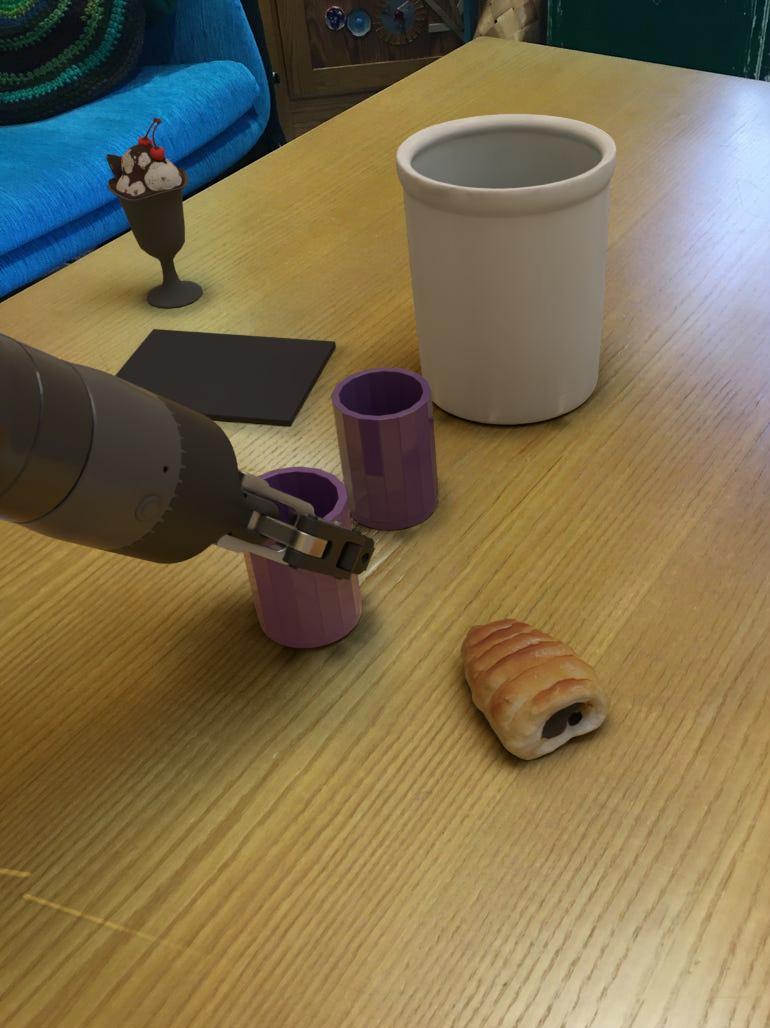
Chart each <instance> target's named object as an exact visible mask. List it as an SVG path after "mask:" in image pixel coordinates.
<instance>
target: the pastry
mask: <svg viewBox="0 0 770 1028" xmlns="http://www.w3.org/2000/svg"><path fill="white" fill-rule="evenodd" d="M460 656H461V658H462V662H463V666H464V677H465V680H466V682H467V683H468V686H469V688H470V692H471V699H472V702H473V704H474V706H475V707H476V708H477V709H478V710H479V711H480V712H481V713H483V716H484V718H485V719H486V720H487V722H488V724H489V726H490V728H491V729H492V730H493V732H494V733H495V735H496V737H497V738H498V740H499V741H500V743H501V744H502V746H503V747H504V749H505V750H507V752H509V753H510V754H512V755H514V756H516V757H517V758H519V759H522V760H525V761H531V760H536V759H537V758H540V757H542V756H544V755H547V754H549V753H552V752H554V751H555V750H556V749H557V748H558V749H559V748H560V747H561V746H563V745H565V744H566V743H567V742H568V741H569V740H570V739H572V738H574V737H579V736H582V735H585V734H588V733H590V732H592V731H595V730H596V729H598V728H599V727H601V725H602V724H603V722H604V721H605V720H606V719H607V717H608V714H609V710H610V708H611V707H610V706H611V697H610V696H609V694H607V693H606V690H605V688H604V685H603V684H602V683H601V681H600V680H599V678H598V676H597V673H596V671H595V669H594V667H593V666H592V665H591V664H589V663H587V662H586V661H585V660H584V659H582V658H581V656H580V655H579V654H578V653H577V652H576V651H575V650H574V649H573V648H572V647H571V646H569V644H567V643H565V642H563V641H562V640H561V639H557V638H554V637H552V636H551V635H550V634H548V633H546V632H542V630H540V629H539V628H537V627H535V626H532V625H530V624H529V623H526V622H521V621H518V620H517V619H514V618H504V619H499V620H495V621H490V622H489V623H486V624H476V625H473V626H471V627H470V628H469V629H468V631H467V633H466V637H465V638H464V640H463V641H462V643H461V647H460Z"/></svg>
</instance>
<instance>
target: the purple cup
mask: <svg viewBox="0 0 770 1028" xmlns="http://www.w3.org/2000/svg"><path fill="white" fill-rule="evenodd" d="M256 476H257V477H259V478H261V479H263V480H265V481H267V482H268V484H269V486H270V487H271V488H274V489H276V490H279V491H281V492H284V493H286V494H289V495H291V496H294V497H296V498H299V499H301V500H303V501H305V502H307V503H309V504H311V505H312V506H313V508H314V514H315V515H316V516H318V517H321V518H323V519H326V520H328V521H331V522H333V520H335V521H338V522H340V523H342V524H341V526H343V527H345V528H347V529H349V530H351V531H352V529H353V528H352V522H351V521H352V520H351V515H350V513H349V505H348V498H347V493H346V487H345V485H344V482H343V481H341V480H340V479H339V478H338V477H337V476H336V475H335V474H333V473H331V472H328V471H325V470H323V469H321V468H317V467H308V466H289V467H282V468H276V469H272V470H269V471H267V472H264V473H262V474H259V475H256ZM257 494H258V493H257ZM259 495H260V494H259ZM261 496H263V495H261ZM264 497H265V496H264ZM266 498H268V497H266ZM268 499H270V498H268ZM270 500H272V501H274V502H276V503H277V504H278V506H279V507H280V511H281V513H280V518H279V520H280V521H282V522H285V521H286V518H287V516H288V512H289V510H288V507H287V505H285V504H283V503H280V502H278V501H275V500H273V499H270ZM276 542H277V541H276V540H274V539H271V538H270V539H269V540H268V541H267V542H265V543H263V545H266V546H272V545H274V544H275V543H276ZM242 555H243V559H244V563H245V567H246V572H247V577H248V581H249V585H250V590H251V595H252V600H253V604H254V607H255V611H256V617H257V620H258V622H259V625H260V628H261V630H262V632H263V633H264V634H265V636H267V637H268V638H269V639H270V640H271V641H273V642H275V643H277V644H279V645H282V646H285V647H288V648H294V649H311V648H318V647H324V646H327V645H330V644H332V643H335V642H337V641H339V640H340V639H342V638H344V637H346V636H347V635H349V633H350V632H351V631H353V629H354V628H355V627H356V626H357V624H358V623H359V621H360V619H361V615H362V611H363V605H362V602H363V601H362V596H361V588H360V581H359V575H357V574H353V573H352V575H351V577H350V580H345V579H342V580H339V579H336V578H334V577H333V576H329V575H324V574H320V573H316V572H312V571H308V570H304V569H301V568H298V570H296V569H293V568H291V567H289V566H288V565H285V564H282V563H279V562H276V561H273V560H271V559H268V558H265V557H262V556H259V555H257V554H254V553H251V552H248V551H243V552H242Z"/></svg>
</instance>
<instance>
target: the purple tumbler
mask: <svg viewBox="0 0 770 1028" xmlns="http://www.w3.org/2000/svg"><path fill="white" fill-rule="evenodd" d="M330 398H331V404H332V412H333V417H334V418H333V419H334V425H335V433H336V440H337V446H338V454H339V460H340V467H341V474H342V483H343V484H344V485H345V487H346V493H347V498H348V505H349V513H350V517H352V519H354V521H356V523H359V524H360V525H362V526H365V527H367V528H370V529H374V530H382V531H394V530H395V531H396V530H403V529H407V528H410V527H413V526H416V525H418V524H420V523H422V522H424V521H425V520H427V519H429V517H430V516H432V514H433V513H435V511H436V509H437V507H438V504H439V481H438V479H439V478H438V466H437V452H436V451H437V450H436V437H435V424H434V411H433V401H432V394H431V389H430V386H429V383H428V381H427V380H425V379H424V378H423V377H422V375H420V374H419V373H418V372H415V371H412V370H409V369H406V368H403V367H402V368H401V367H390V366H389V367H388V366H383V367H382V366H381V367H374V368H368V369H367V368H366V369H363V370H360V371H357V372H354V373H352V374H349V375H347V376H346V377H345V378H343V379H342V380H340V381H339V382H337V384H336V385H335V386H334V388H333V390H332V392H331V394H330Z"/></svg>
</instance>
